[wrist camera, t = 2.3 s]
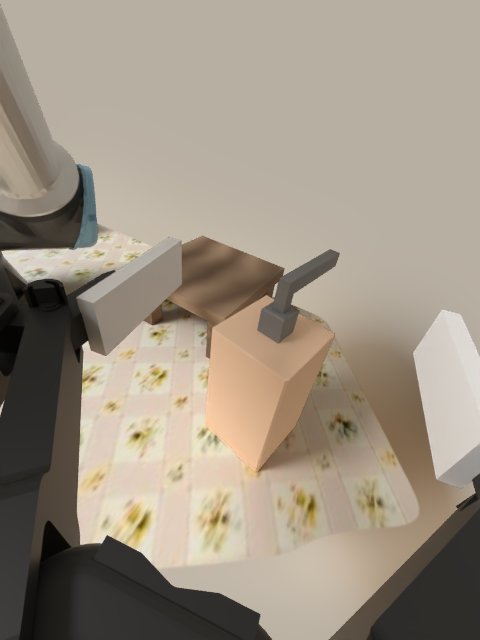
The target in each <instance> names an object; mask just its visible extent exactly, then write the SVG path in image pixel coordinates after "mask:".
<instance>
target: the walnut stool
mask: <svg viewBox="0 0 480 640" xmlns="http://www.w3.org/2000/svg"><path fill="white" fill-rule="evenodd" d="M283 273H284V268H282V267H280V266H277V265H275V264H272V263H269V262H267V261H265V260H262V259H260V258H257V257H255V256H252V255H249V254H247V253H244V252H242V251H239V250H237V249H234V248H231V247H229V246H227V245H224V244H222V243H219V242H217V241H214V240H211V239H209V238H207V237H204V236H201V237H198V238H196V239H194V240H192V241H190V242H187V243H185V244H183V245H182V284H181V285H180V286H179V287H178V288H177V289H176V290H175V291H174V292H173V293H172V294H171V295H170V296H169V297H168V298H167V300H169V301H171V302H172V303H174V304H176V305H178V306H180V307H182V308H184V309H186V310H188V311H190V312H192V313H193V314H195V315H197V316H199V317H201V318H203V319H205V320H207V321H208V332H207V348H206V357H208V358H210V352H211V340H212V328H213V327H214V326H216V325H218V324H219V323H221V322H223V321H224V320H226V319H228V318H229V317H231V316H233V315H234V314H236V313H238V312H239V311H241V310H243V309H244V308H246V307H248V306H249V305H251V304H253V303H254V302H256V301H258V300H259V299H261V298H263V297H264V296H266V295H267V296H269V297H271V298H272V294H273V290H274V286H275V284H276V283H277V282H279V278H281V277H282V276H283ZM161 319H162V305H161V304H160V305H159V306H158V307H157V308H156V309H155V310H154V311H153V312H152V313H151V314H150V315H149V316H148V317H147V318H146V319H145V320H144V321H146V322H148V323H149V324H151V325H153V324H155V323H156V322H158V321H159V320H161Z"/></svg>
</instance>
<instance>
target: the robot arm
mask: <svg viewBox="0 0 480 640" xmlns="http://www.w3.org/2000/svg"><path fill="white" fill-rule="evenodd" d="M97 240H98V230H97V219H96V204H95V193H94V183H93V174H92V171H91V169H90V168H89V167H87V166H82V165H81V164H75V162H74V160H73V158H72V157H71V155H70V154H69V153H68V152H67V151H66V150H65V149H64V148H63V147H62V146H61V145H59V144H58V143H57V142H55V141H53V139H52V137H51V134H50V131H49V129H48V126H47V124H46V121H45V118H44V116H43V113H42V111H41V108H40V106H39V103H38V100H37V98H36V95H35V93H34V90H33V88H32V85H31V82H30V80H29V77H28V75H27V72H26V69H25V67H24V64H23V62H22V59H21V57H20V54H19V52H18V49H17V46H16V44H15V41H14V39H13V36H12V34H11V31H10V28H9V26H8V23H7V20H6V18H5V16H4V13H3V10H2V8H1V5H0V407H1V405H2V403H3V402H4V404H3V408H2V412H1V415H0V640H272V639H271V638H270V636H269V635H268V634H267V632H266V631H265V630H264V629H263V628H262V627H261V626H260V625H259V619H260V614H259V613H257V612H255V611H253V610H251V609H249V608H247V607H245V606H243V605H241V604H239V603H237V602H235V601H234V600H232V599H230V598H228V597H226V596H224V595H222V594H220V593H214V592H206V591H198V590H191V589H184V588H177V587H174V586H172V585H171V584H170V583H169V582H168V581H167V580H166V579H165V578H164V577H163V575H162V574H161V573H160V572H159V571H158V570H157V569H156V568H155V567H154V566H153V565H152V564H151V563H150V562H149V560H148V559H147V558H146V557H145V556H144V555H143V554H142V553H141V552H139V551H137V550H135V549H133V548H131V547H129V546H127V545H125V544H123V543H121V542H119V541H117V540H115V539H113V538H111V537H109V536H108V535H107V536H106V538H105V540H104V541H103V543H102V544H100V543H94V544H84V545H80V531H79V524H78V518H77V490H78V466H79V442H80V418H81V395H82V371H83V349H82V345H83V344H84V343H85V342H87V341H89V345H90V348H91V351H94V352H97V353H99V354H102V355H105V356H107V355H108V354H109V353H110V352H111V351H112V350H113V349H114V348H115V347H116V346H117V345H118V344H119V343H120V342H121V341H123V340H124V339H125V338H126V337H127V336H128V335H129V334H130V333H131V332H132V331H133V330H134V329H135V328H136V327H137V326H138V325H139V324H140V323H141V322H142V321H144V320H145V319H146V318H147V317H148V316H149V315H150V314H151V313H152V312H153V311H154V310H155V309H156V308H157V307H158V306H159V305H160V304H161V303H162V302H163V301H165V300H166V299H167V298H168V297H169V296H170V295H171V294H172V293H173V292H174V291H175V290H176V289H177V288H178V287H179V286H180V285H181V284H182V244H181V240H178V239H174V238H171V237H168V238H166V239H165V240H163V241H162V242H160V243H159V244H157V245H156V246H154V247H153V248H151V249H150V250H148V251H146V252H145V253H143V254H142V255H140V256H139V257H137V258H136V259H134V260H133V261H131V262H130V263H128V264H127V265H125V266H124V267H122V268H120V269H119V270H117V271H114V270H113V271H110V272H107V273H104V274H101V275H100V276H98V277H97V278H95V279H94V280H92V281H90V282H89V283H87V285H84V286H82V287H81V288H79V289H78V290H76V291H74V292H73V293H71V294H70V295H68V296H66V293H65V290H64V286H63V283H62V282H60V281H59V280H54V279H43V280H37V281H34V282H31V283H29V284H28V283H27V282H26V281H25V279H24V278H23V277H22V276H21V275H20V274H19V273H18V272H17V271H16V270H15V269H14V268H13V266H12V265H11V264H10V263H9V262H8V261H7V260H6V259H5V258H4V256H3V254H2V252H1V251H5V250H36V249H67V248H69V249H71V250H75V249H77V248H84V247H91V246H94V245H95V244H96V242H97ZM413 356H414V361H415V366H416V372H417V377H418V382H419V388H420V394H421V399H422V405H423V410H424V415H425V421H426V426H427V432H428V437H429V443H430V448H431V454H432V459H433V464H434V470H435V475H436V479H437V480H439V481H441V482H444V483H447V484H449V485H452V486H455V487H458V488H460V489H461V488H463V487H464V486H465V485H467V484H468V483H470V482H471V481H473V485H474V488H475V492H476V493H475V494H474V495H472V496H470V497H469V498H467V499H466V500H464V501H463V502H462V503H460V504H459V505H457V506H456V507H457V508H458V509H457V510H456V511H455V512H454V513H453V514H452V515H451V517H449V519H447V521H445V522H444V524H443V525H442V526H441V527H440V528H439V529H438V530H437V531H436V532H435V533H434V534H433V535H432V536H431V537H430V538H429V539H428V540H427V541H426V542H425V543H424V544H423V545H422V546H421V547H420V548H419V549H418V550H417V551H416V552H415V553H414V554H413V555H412V556H411V557H410V558H409V559H408V560H407V561H406V562H405V563H404V564H403V565H402V566H401V567H400V568H399V569H398V570H397V571H396V572H395V573H394V574H393V575H392V576H391V577H390V578H389V579H388V580H387V581H386V582H385V583H384V584H383V585H382V586H381V587H380V588H379V589H378V591H377V592H376V593H375V594H374V595H373V596H372V597H371V598H370V599H369V600H368V601H367V602H366V603H365V604H364V605H363V606H362V607H361V608H360V609H359V610H358V611H357V612H356V613H355V614H354V615H353V616H352V617H351V618H350V619H349V620H348V621H347V622H346V623H345V624H344V625H343V626H342V627H341V628H340V629H339V630H338V631H337V632H336V633H335V634H334V635H333V636H332V637H331V638H330V639H329V640H480V357H479V354H478V352H477V350H476V348H475V345H474V343H473V341H472V339H471V337H470V334H469V332H468V330H467V328H466V325H465V323H464V321H463V319H462V316H461V315H460V314H457V313H453V312H449V311H445V310H442V311H441V313H440V314H439V315H438V317H437V318H436V320H435V321H434V323H433V324H432V326H431V327H430V329H429V330H428V332H427V333H426V335H425V336H424V338H423V339H422V341H421V342H420V344H419V345H418V346H417V348H416V350H415V351H414V352H413ZM4 400H5V401H4Z"/></svg>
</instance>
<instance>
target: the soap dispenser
mask: <svg viewBox="0 0 480 640" xmlns="http://www.w3.org/2000/svg"><path fill="white" fill-rule="evenodd" d="M339 254H340V253H338V252H336V251H333V250H328V251H326V252H325V253H323V254H321V255H319V256H318V257H316V258H314V259H312V260H311V261H309V262H307V263H305V264H304V265H302V266H300V267H298V268H297V269H295V270H293V271H291V272H289V273H288V274H286V275H284V276H282V277H281V278H279V282H278V286H277V291H276V295H275V299H273V298H271V297H269V296H267V295H266V296H264V297H263V298H261V299H259V300H258V301H256V302H254V303H253V304H251V305H249V306H248V307H246V308H244V309H243V310H241V311H239V312H238V313H236V314H234V315H233V316H231V317H229V318H228V319H226V320H224V321H223V322H221V323H219V324H218V325H216V326H214V327H213V328H212V340H211V352H210V365H209V378H208V391H207V404H206V417H205V426H206V427H208V428H209V429H210V430H211V431H212V432H213V433H214V434H215V435H216V436H217V437H218V438H219V439H220V440H221V441H222V442H224V443H225V444H226V445H227V446H228V447H229V448H230V449H231V450H232V451H233V452H234V453H235V454H236V455H237V456H238V457H240V458H241V459H242V460H243V461H244V462H245V463H246V464H247V465H248V466H249V467H250V468H251V469H252V470H253V471H254V472H258V470H259V469H260V468H261V467H262V465H263V464H264V463H265V462H266V461H267V459H268V458H269V457H270V456H271V455H272V453H273V452H274V451H275V450H276V449H277V447H278V446H279V445H280V444H281V443H282V441H283V440H284V439H285V438H286V437H287V435H288V434H289V433H290V432H291V431H292V429H293V428H294V427H295V426H296V424H297V421H298V419H299V417H300V415H301V412H302V410H303V408H304V405H305V403H306V401H307V398H308V396H309V394H310V392H311V389H312V387H313V385H314V382H315V380H316V378H317V375H318V373H319V371H320V368H321V366H322V364H323V362H324V359H325V357H326V355H327V352H328V350H329V348H330V345H331V343H332V341H333V339H334V336H335V333H333V332H331V331H329V330H327V329H326V328H324V327H322V326H320V325H319V324H317V323H315V322H313V321H312V320H310V319H308V318H306V317H304V316H303V315H301V314H299V310H297V309H295V308H294V307H292V306H290V305H291V301H292V297H293V294H294V293H295V292H297V291H298V290H300V289H301V288H303V287H304V286H306V285H307V284H309V283H310V282H312V281H314V280H315V279H317V278H318V277H320V276H321V275H323V274H324V273H326V272H327V271H329V270H330V269H332V268H333V267H335V265H336V263H337V260H338V257H339Z"/></svg>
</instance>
